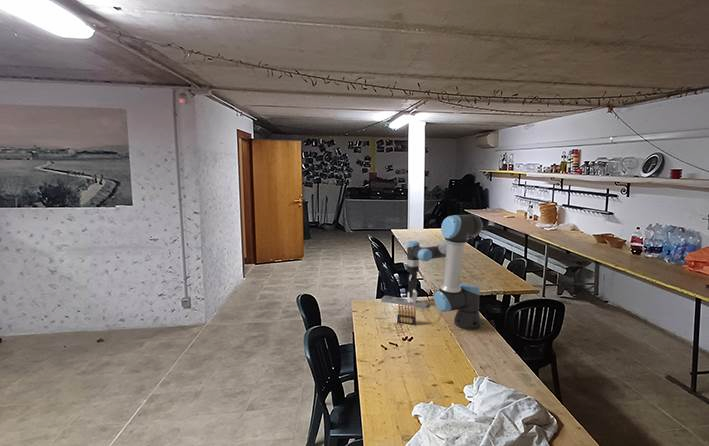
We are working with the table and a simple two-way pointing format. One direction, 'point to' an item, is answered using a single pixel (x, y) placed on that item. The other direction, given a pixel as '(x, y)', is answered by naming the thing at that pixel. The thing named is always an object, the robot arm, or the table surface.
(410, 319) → the ammunition clip
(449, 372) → the table surface
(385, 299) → the strip
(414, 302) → the charger
